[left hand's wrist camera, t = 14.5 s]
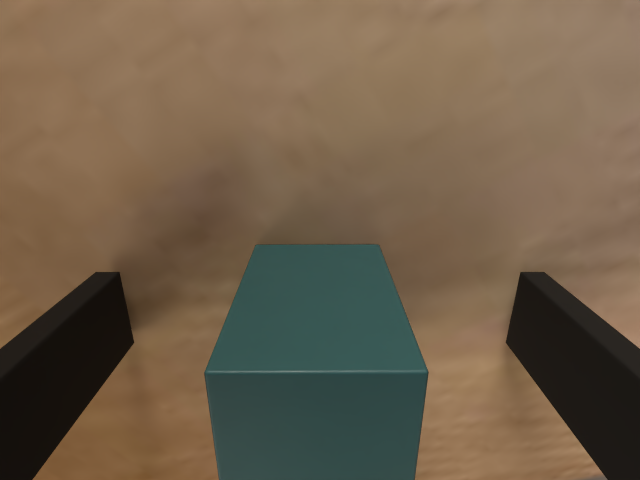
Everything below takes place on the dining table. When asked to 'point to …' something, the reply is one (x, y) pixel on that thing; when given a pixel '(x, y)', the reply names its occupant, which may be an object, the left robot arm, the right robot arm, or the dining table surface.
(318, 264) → the teal block
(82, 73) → the dining table surface
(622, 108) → the dining table surface
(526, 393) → the dining table surface
